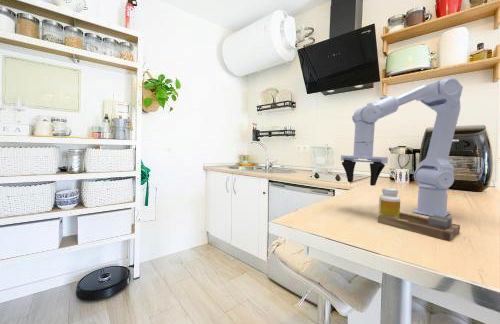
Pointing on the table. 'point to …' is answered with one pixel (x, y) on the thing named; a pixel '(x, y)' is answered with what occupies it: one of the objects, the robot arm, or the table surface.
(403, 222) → the beam
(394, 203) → the supplement bottle
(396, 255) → the table surface
